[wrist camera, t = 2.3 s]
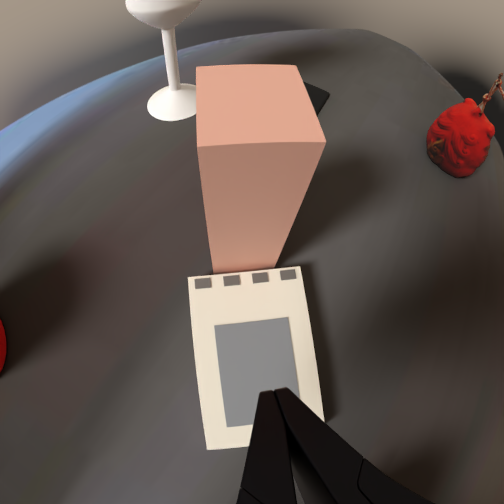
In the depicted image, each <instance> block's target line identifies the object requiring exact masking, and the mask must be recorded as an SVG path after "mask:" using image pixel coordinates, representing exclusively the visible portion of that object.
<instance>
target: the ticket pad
mask: <svg viewBox="0 0 504 504" xmlns="http://www.w3.org/2000/svg"><path fill="white" fill-rule="evenodd" d="M188 284H189V298H190V311H191V323H192V333H193V344H194V354H195V363H196V372H197V380H198V388H199V396H200V404H201V411H202V418H203V425H204V432H205V438H206V445H207V450H214V449H226V448H236V447H245V446H249V443H250V438H251V433H252V428H253V423H254V418H255V412H256V407H257V402H258V397H259V393H260V392H261V391H266V390H273V391H274V390H275V389H277V388H282V387H288V388H289V389H290V390H291V391H292V392H293V393H294V394H295V395H296V396H297V397H298V398H299V399H300V400H302V401H303V402H304V403H305V404H306V405H307V406H308V407H309V408H310V409H311V410H312V411H313V412H314V413H315V414H316V415H317V416H318V417H319V418H321V419H322V420H323V421H324V415H323V407H322V400H321V392H320V385H319V378H318V371H317V364H316V358H315V351H314V345H313V338H312V332H311V326H310V320H309V314H308V308H307V302H306V296H305V291H304V285H303V280H302V274H301V269H300V266H298V267H288V268H279V269H269V270H259V271H249V272H239V273H229V274H218V275H208V276H197V277H188Z"/></svg>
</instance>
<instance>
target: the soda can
mask: <svg viewBox="0 0 504 504" xmlns="http://www.w3.org/2000/svg"><path fill="white" fill-rule="evenodd" d="M5 357H6V336H5V331H4V327H3V324H2V321H1V319H0V372H1V370H2V368H3V365H4V362H5Z"/></svg>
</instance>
